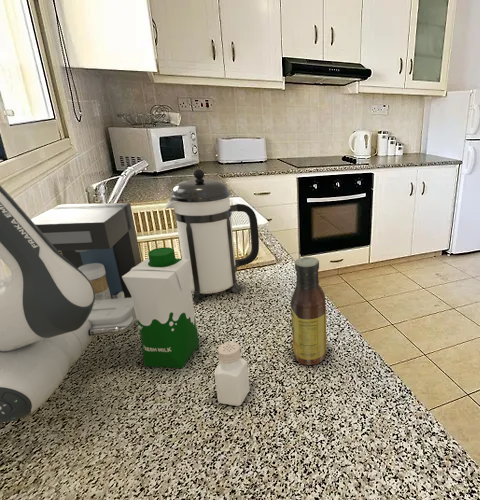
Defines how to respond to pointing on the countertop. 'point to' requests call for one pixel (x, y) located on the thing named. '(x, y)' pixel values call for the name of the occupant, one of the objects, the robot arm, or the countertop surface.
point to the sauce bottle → (308, 314)
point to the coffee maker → (94, 238)
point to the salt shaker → (231, 375)
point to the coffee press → (209, 234)
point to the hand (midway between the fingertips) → (94, 296)
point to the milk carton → (164, 308)
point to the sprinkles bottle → (97, 279)
